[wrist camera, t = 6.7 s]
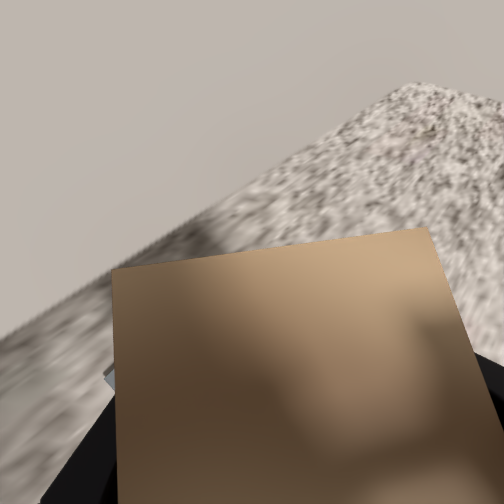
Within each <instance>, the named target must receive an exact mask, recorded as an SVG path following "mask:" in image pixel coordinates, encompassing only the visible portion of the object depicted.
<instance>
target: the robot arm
mask: <svg viewBox="0 0 504 504" xmlns="http://www.w3.org/2000/svg"><path fill="white" fill-rule="evenodd" d="M474 354H475V356H476V359H477V362H478V364H479V367H480V370H481V372H482V375H483V378H484V380H485V383H486V386H487V388H488V391H489V394H490V396H491V399H492V402H493V404H494V407H495V410H496V413H497V415H498V418H499V421H500V423H501V426H502V429H503V431H504V367H503V366H501V365H499V364H497V363H495V362H493V361H491V360H489V359H487V358H485V357H483V356H481V355H479V354H477V353H475V352H474ZM38 504H118V481H117V446H116V411H115V395H114V396H113V398H112V399H111V401H110V402H109V403H108V405H107V406H106V408H105V409H104V410H103V412H102V413H101V415H100V416H99V417H98V419H97V420H96V422H95V423H94V425H93V426H92V427H91V429H90V430H89V432H88V433H87V434H86V436H85V437H84V439H83V440H82V441H81V443H80V444H79V446H78V447H77V449H76V450H75V451H74V453H73V454H72V456H71V457H70V458H69V460H68V461H67V463H66V464H65V465H64V467H63V468H62V470H61V471H60V473H59V474H58V475H57V477H56V478H55V480H54V481H53V482H52V484H51V485H50V487H49V488H48V489H47V491H46V492H45V494H44V495H43V496H42V498H41V500H40V503H38Z"/></svg>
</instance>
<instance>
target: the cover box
mask: <svg viewBox="0 0 504 504" xmlns="http://www.w3.org/2000/svg"><path fill="white" fill-rule="evenodd" d="M111 273H112V308H113V342H114V377H115V411H116V446H117V481H118V504H504V431H503V429H502V426H501V423H500V421H499V418H498V415H497V413H496V410H495V407H494V404H493V402H492V399H491V396H490V394H489V391H488V388H487V386H486V383H485V380H484V378H483V375H482V372H481V370H480V367H479V364H478V362H477V359H476V356H475V354H474V351H473V348H472V346H471V343H470V340H469V338H468V335H467V332H466V330H465V327H464V324H463V322H462V319H461V316H460V314H459V311H458V308H457V306H456V303H455V300H454V298H453V295H452V292H451V290H450V287H449V284H448V282H447V279H446V276H445V274H444V271H443V268H442V266H441V263H440V260H439V258H438V255H437V252H436V250H435V247H434V244H433V242H432V239H431V236H430V234H429V231H428V228H427V227H422V228H415V229H407V230H400V231H392V232H385V233H378V234H370V235H363V236H355V237H348V238H341V239H333V240H326V241H319V242H311V243H304V244H296V245H289V246H282V247H274V248H267V249H259V250H252V251H245V252H237V253H230V254H222V255H215V256H208V257H200V258H193V259H186V260H178V261H171V262H163V263H156V264H149V265H141V266H134V267H126V268H119V269H112V270H111Z"/></svg>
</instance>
